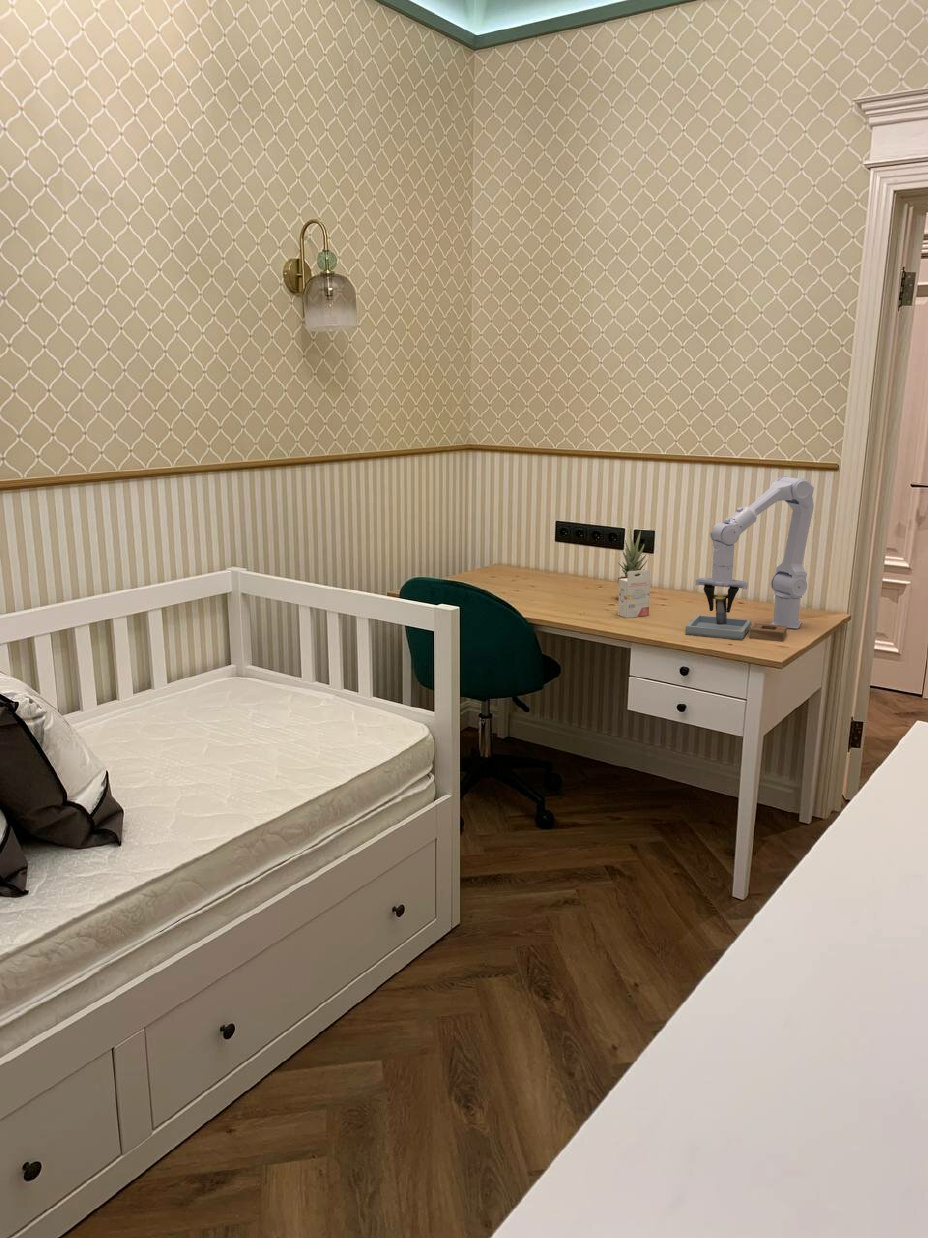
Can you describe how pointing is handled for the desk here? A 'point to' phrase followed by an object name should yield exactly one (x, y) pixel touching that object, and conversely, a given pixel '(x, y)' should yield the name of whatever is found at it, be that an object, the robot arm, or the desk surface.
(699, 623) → the tray
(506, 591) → the desk surface
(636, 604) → the ink cartridge box
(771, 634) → the brown square socket base
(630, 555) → the potted plant
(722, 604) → the lock pin
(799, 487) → the robot arm
